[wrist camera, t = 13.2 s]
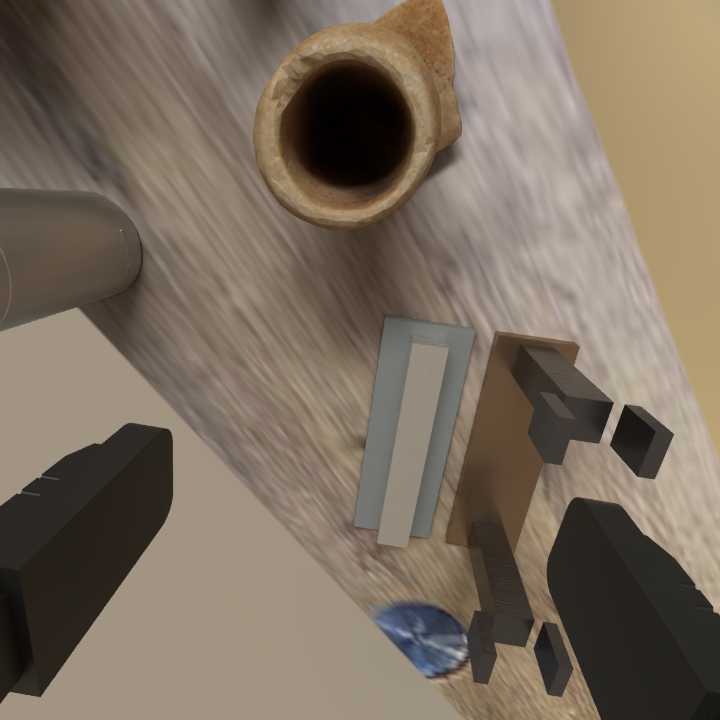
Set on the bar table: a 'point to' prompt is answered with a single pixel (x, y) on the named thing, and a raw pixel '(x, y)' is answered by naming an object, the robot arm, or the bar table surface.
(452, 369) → the rubber mat
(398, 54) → the clay boot vase
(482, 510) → the cradle stand
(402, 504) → the steel rail
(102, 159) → the bar table surface
